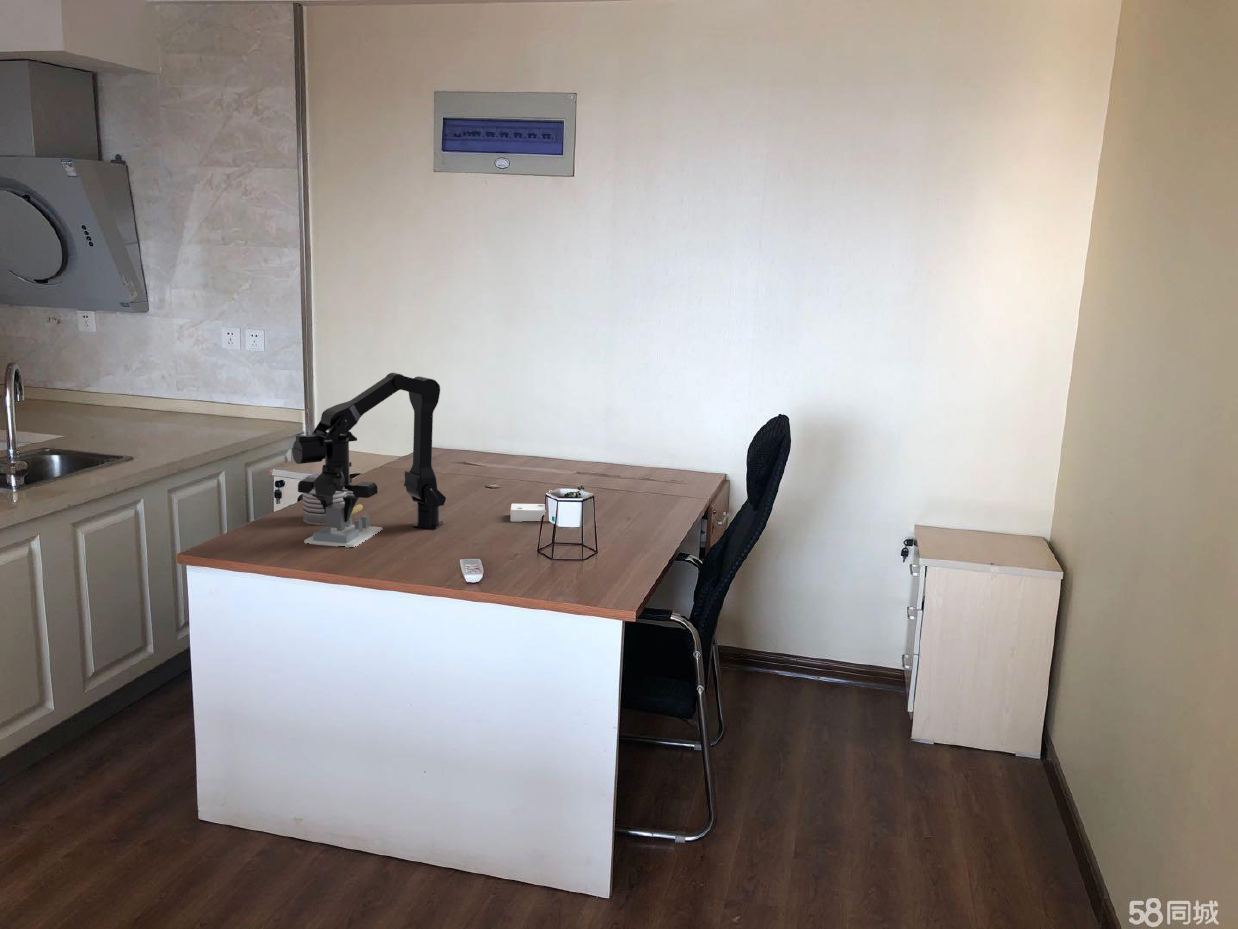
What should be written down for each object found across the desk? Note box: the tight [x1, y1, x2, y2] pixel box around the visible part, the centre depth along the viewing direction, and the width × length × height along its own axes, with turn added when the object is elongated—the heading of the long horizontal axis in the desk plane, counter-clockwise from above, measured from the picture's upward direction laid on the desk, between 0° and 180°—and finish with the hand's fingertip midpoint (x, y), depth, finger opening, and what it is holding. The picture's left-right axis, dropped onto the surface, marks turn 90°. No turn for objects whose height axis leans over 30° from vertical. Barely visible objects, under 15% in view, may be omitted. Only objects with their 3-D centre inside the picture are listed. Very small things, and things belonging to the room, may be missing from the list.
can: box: [302, 471, 347, 526], centre depth 263 cm, size 11×11×12 cm
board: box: [304, 514, 383, 548], centre depth 249 cm, size 17×13×4 cm
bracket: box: [510, 490, 551, 522], centre depth 274 cm, size 13×7×8 cm, turn 94°
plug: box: [325, 503, 364, 528], centre depth 250 cm, size 16×4×5 cm, turn 170°
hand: (338, 521), depth 245 cm, fingers closed on plug, 4 cm apart
